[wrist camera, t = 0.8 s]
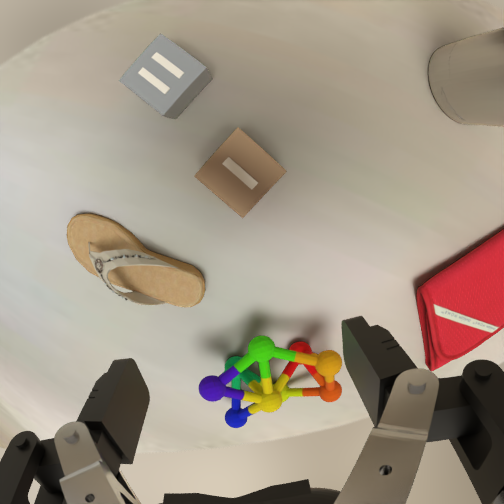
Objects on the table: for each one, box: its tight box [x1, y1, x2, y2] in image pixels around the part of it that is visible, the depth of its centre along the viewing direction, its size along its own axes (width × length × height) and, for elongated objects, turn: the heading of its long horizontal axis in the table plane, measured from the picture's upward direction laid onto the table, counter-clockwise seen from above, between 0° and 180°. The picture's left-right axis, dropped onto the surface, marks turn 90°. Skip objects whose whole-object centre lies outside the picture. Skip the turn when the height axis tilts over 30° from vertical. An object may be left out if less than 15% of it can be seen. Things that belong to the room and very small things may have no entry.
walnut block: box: [194, 128, 287, 218], centre depth 26 cm, size 5×5×5 cm
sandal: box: [67, 213, 205, 307], centre depth 29 cm, size 7×16×5 cm, turn 70°
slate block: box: [119, 33, 212, 119], centre depth 23 cm, size 5×5×5 cm
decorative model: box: [199, 336, 342, 428], centre depth 32 cm, size 13×9×15 cm
